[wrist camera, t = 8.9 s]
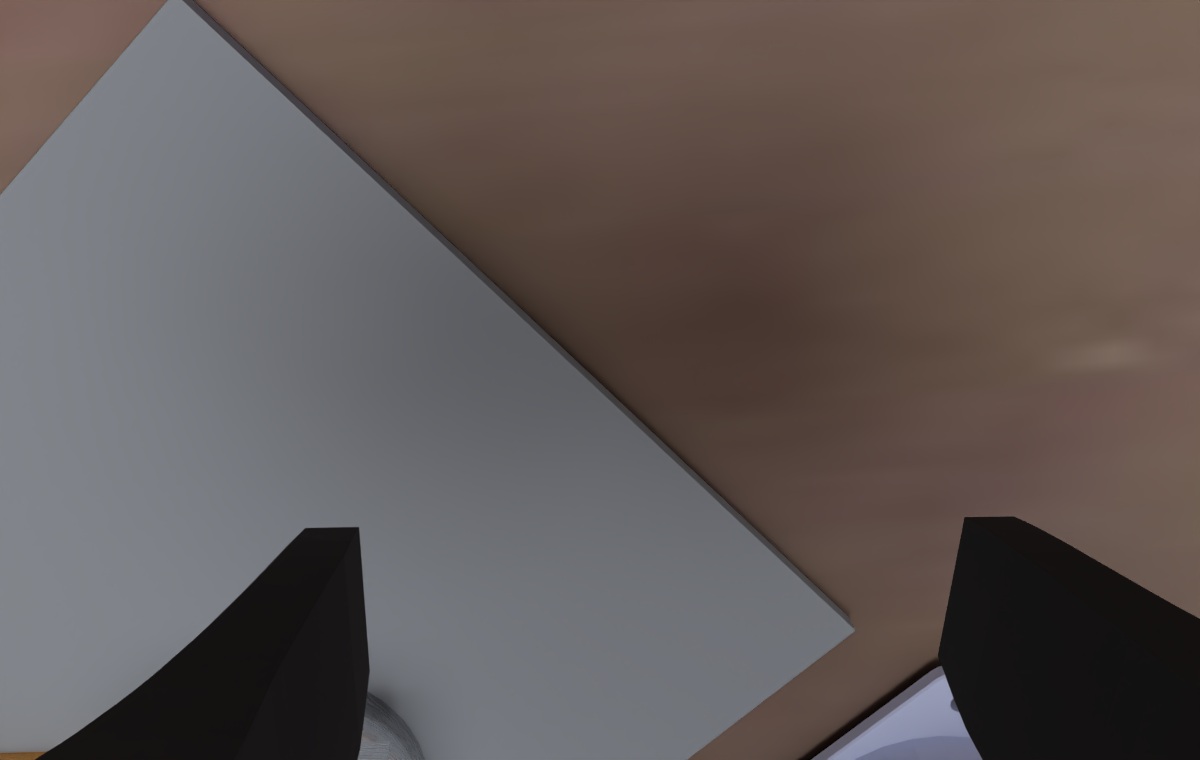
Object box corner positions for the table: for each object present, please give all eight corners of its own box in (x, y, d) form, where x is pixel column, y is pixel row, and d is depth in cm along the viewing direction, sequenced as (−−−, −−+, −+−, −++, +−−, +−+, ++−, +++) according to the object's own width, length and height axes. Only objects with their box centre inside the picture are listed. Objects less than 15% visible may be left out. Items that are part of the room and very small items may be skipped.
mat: (849, 617, 24) (855, 630, 24) (240, 1086, 29) (236, 1104, 29) (183, -10, 18) (174, -8, 18) (-453, 727, 23) (-473, 744, 22)
